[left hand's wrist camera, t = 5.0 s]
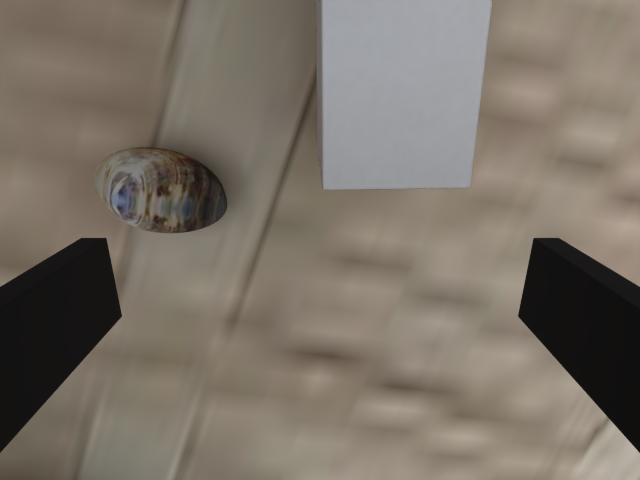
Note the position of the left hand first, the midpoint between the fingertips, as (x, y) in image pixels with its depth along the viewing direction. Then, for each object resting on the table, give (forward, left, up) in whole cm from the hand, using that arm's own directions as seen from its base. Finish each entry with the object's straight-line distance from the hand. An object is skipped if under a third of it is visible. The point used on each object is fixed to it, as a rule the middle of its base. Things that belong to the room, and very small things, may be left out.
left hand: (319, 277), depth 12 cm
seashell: (-11, -1, -21) cm, 23 cm away
